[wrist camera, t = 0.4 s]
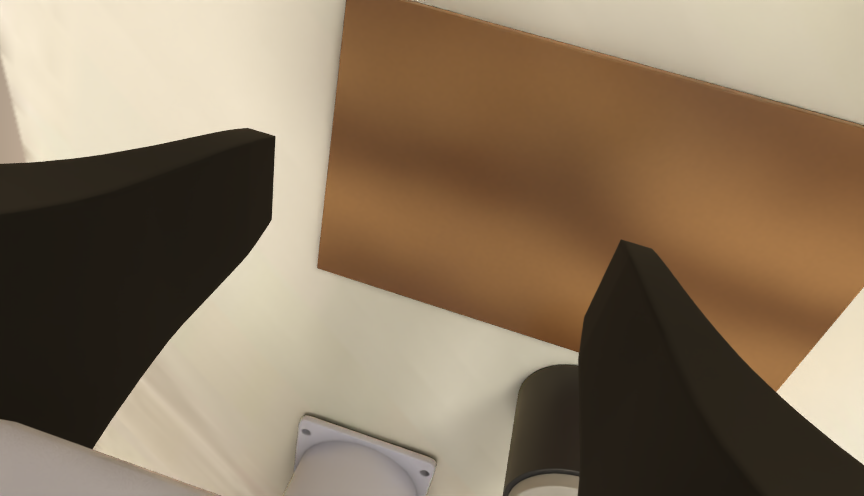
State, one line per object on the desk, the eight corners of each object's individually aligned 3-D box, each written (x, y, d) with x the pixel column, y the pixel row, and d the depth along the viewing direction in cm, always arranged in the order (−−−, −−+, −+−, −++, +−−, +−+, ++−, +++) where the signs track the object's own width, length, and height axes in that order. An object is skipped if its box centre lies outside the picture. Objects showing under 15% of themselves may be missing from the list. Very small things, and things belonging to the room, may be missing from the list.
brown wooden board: (758, 404, 24) (760, 411, 24) (320, 263, 26) (316, 268, 26) (965, 152, 17) (972, 158, 17) (351, -17, 19) (347, -15, 19)
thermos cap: (603, 452, 28) (604, 578, 23) (505, 420, 28) (486, 536, 23) (644, 386, 25) (657, 512, 20) (536, 350, 26) (521, 466, 20)
